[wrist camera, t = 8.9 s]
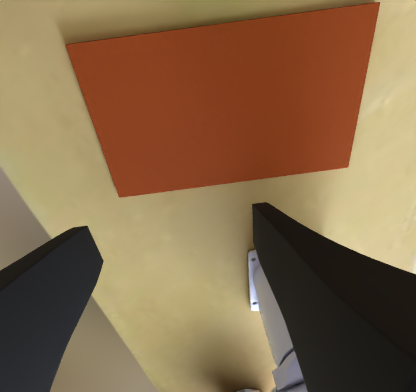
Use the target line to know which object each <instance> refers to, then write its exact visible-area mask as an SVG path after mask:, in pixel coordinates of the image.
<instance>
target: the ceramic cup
mask: <svg viewBox="0 0 416 392" xmlns="http://www.w3.org/2000/svg"><path fill="white" fill-rule="evenodd" d="M236 392H260V391H259V390H254V389H242V390H239V391H236Z"/></svg>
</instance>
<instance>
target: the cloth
mask: <svg viewBox="0 0 416 392" xmlns="http://www.w3.org/2000/svg"><path fill="white" fill-rule="evenodd" d="M379 6H380V2H376V3H369V4H362V5H354V6H347V7H339V8H332V9H325V10H317V11H310V12H302V13H295V14H288V15H280V16H273V17H265V18H258V19H251V20H243V21H236V22H228V23H221V24H214V25H206V26H199V27H191V28H184V29H177V30H169V31H162V32H154V33H147V34H140V35H132V36H125V37H117V38H110V39H103V40H95V41H88V42H80V43H73V44H66V48H67V51H68V54H69V56H70V59H71V62H72V65H73V68H74V71H75V73H76V76H77V79H78V82H79V85H80V88H81V90H82V93H83V96H84V99H85V102H86V105H87V108H88V110H89V113H90V116H91V119H92V122H93V125H94V127H95V130H96V133H97V136H98V139H99V142H100V144H101V147H102V150H103V153H104V156H105V159H106V162H107V164H108V167H109V170H110V173H111V176H112V179H113V181H114V184H115V187H116V190H117V193H118V196H119V198H120V197H128V196H135V195H143V194H150V193H158V192H165V191H173V190H181V189H188V188H196V187H203V186H211V185H219V184H226V183H234V182H241V181H249V180H256V179H264V178H272V177H279V176H287V175H294V174H302V173H309V172H317V171H325V170H332V169H340V168H347V167H348V166H349V161H350V155H351V150H352V145H353V140H354V135H355V130H356V125H357V119H358V114H359V109H360V104H361V99H362V94H363V88H364V83H365V78H366V73H367V68H368V63H369V58H370V52H371V47H372V42H373V37H374V32H375V27H376V22H377V16H378V11H379Z"/></svg>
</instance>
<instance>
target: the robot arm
mask: <svg viewBox="0 0 416 392" xmlns="http://www.w3.org/2000/svg"><path fill="white" fill-rule="evenodd" d="M252 214H253V242H254V246H255V249H256V250H251V251H249V252H248V272H249V295H250V308H251V310H252V311H258V310H259V311H260V314H261V318H262V321H263V324H264V328H265V331H266V335H267V338H268V342H269V345H270V349H271V352H272V355H273V359H274V361H275V364H276V366H277V369H275V370H273V371H272V373H273V377H274V381H275V384H276V387H275V388H273V389H272V390H271V392H416V274H413V273H410V272H407V271H404V270H401V269H399V268H396V267H393V266H391V265H388V264H385V263H383V262H380V261H378V260H375V259H372V258H370V257H367V256H365V255H363V254H360V253H358V252H356V251H353V250H351V249H349V248H347V247H344V246H342V245H340V244H338V243H336V242H334V241H332V240H330V239H328V238H326V237H324V236H322V235H320V234H318V233H316V232H315V231H313V230H311V229H309V228H307V227H306V226H304V225H302V224H300V223H299V222H297V221H296V220H294V219H292V218H291V217H289V216H287V215H286V214H284V213H283V212H281V211H280V210H278V209H277V208H275V207H274V206H272V205H270V204H269V203H267V202H264V203H256V204H252ZM252 258H254V259H252ZM102 265H103V259H102V257H101V254H100V252H99V250H98V248H97V246H96V244H95V241H94V239H93V237H92V235H91V233H90V231H89V229H88V226H82V227H74V228H71V229H69V230H67V231H65V232H64V233H62V234H60V235H58V236H57V237H55V238H53V239H52V240H50V241H48V242H47V243H45V244H44V245H42V246H40V247H38V248H37V249H35V250H34V251H32V252H30V253H29V254H27V255H26V256H24V257H22V258H21V259H19V260H17V261H16V262H14V263H12V264H11V265H9V266H8V267H6V268H4V269H2V270H1V271H0V392H50V389H51V386H52V383H53V380H54V378H55V375H56V372H57V370H58V367H59V364H60V362H61V359H62V356H63V354H64V351H65V349H66V346H67V344H68V342H69V340H70V338H71V335H72V333H73V331H74V329H75V327H76V325H77V323H78V321H79V319H80V317H81V315H82V313H83V311H84V309H85V306H86V305H87V302H88V300H89V298H90V296H91V294H92V292H93V290H94V288H95V285H96V283H97V280H98V277H99V275H100V271H101V268H102Z"/></svg>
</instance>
